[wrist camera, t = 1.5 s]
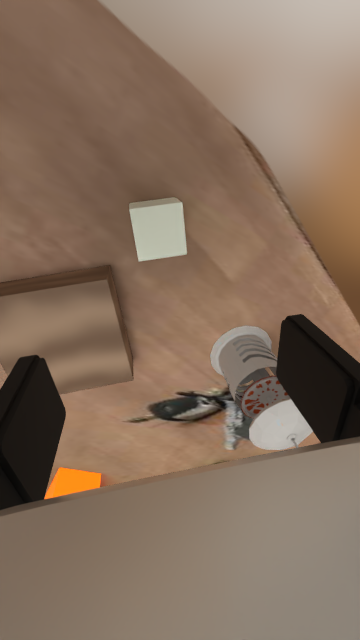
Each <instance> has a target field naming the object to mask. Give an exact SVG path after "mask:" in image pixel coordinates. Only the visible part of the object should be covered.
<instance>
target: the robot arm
mask: <svg viewBox="0 0 360 640" xmlns="http://www.w3.org/2000/svg"><path fill="white" fill-rule="evenodd" d="M276 376H277V379H278V381H279V382H280V384H281V385H282V387H283V388H284V390H285V391H286V393H287V394H288V395H289V397H290V398H291V400H292V401H293V403H294V404H295V406H296V407H297V409H298V410H299V411H300V413H301V414H302V416H303V417H304V419H305V420H306V422H307V423H308V424H309V426H310V427H311V429H312V430H313V432H314V433H315V435H316V436H317V438H318V439H319V440H320V442H321V443H320V444H315V445H309V446H304V447H299V448H294V449H289V450H284V451H279V452H273V453H268V454H263V455H258V456H253V457H248V458H243V459H238V460H233V461H228V462H223V463H218V464H213V465H208V466H203V467H198V468H193V469H188V470H183V471H178V472H173V473H168V474H163V475H158V476H153V477H148V478H143V479H138V480H133V481H129V482H124V483H119V484H114V485H109V486H104V487H100V488H95V489H90V490H85V491H80V492H75V493H71V494H66V495H62V496H57V497H53V498H48V499H44V497H45V493H46V489H47V485H48V482H49V478H50V474H51V470H52V467H53V463H54V459H55V455H56V451H57V448H58V444H59V440H60V436H61V432H62V429H63V425H64V421H65V417H66V412H65V407H64V405H63V402H62V400H61V398H60V395H59V393H58V390H57V388H56V385H55V383H54V380H53V378H52V375H51V373H50V371H49V368H48V366H47V363H46V361H45V359H44V358H40V357H39V356H38V355H31V356H24V357H20V358H19V359H18V360H17V362H16V364H15V366H14V367H13V369H12V371H11V372H10V374H9V376H8V377H7V379H6V381H5V382H4V384H3V386H2V388H1V389H0V640H360V363H359V362H358V361H356V360H355V359H354V358H353V357H352V356H351V355H349V354H348V353H347V352H346V351H345V350H344V349H342V348H341V347H340V346H339V345H338V344H337V343H335V342H334V341H333V340H332V339H331V338H330V337H328V336H327V335H326V334H325V333H324V332H323V331H321V330H320V329H319V328H318V327H317V326H316V325H314V324H313V323H312V322H311V321H310V320H309V319H307V318H306V317H305V316H304V315H302V314H299V315H292V316H287V317H286V319H285V320H283V321H282V324H281V332H280V341H279V349H278V358H277V367H276Z"/></svg>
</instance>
